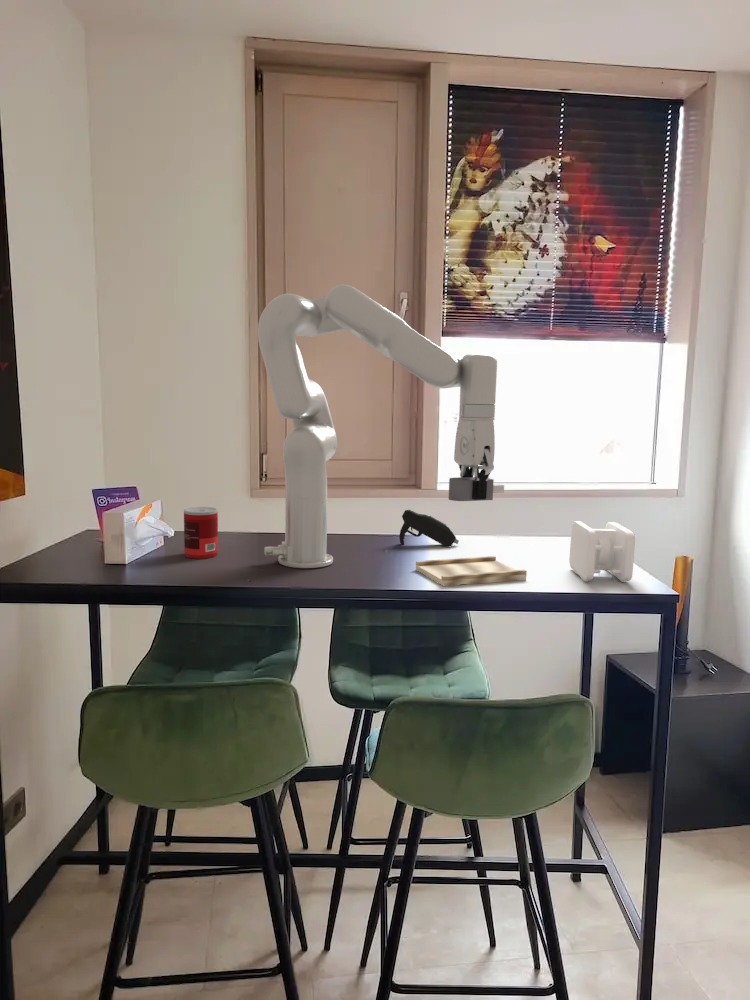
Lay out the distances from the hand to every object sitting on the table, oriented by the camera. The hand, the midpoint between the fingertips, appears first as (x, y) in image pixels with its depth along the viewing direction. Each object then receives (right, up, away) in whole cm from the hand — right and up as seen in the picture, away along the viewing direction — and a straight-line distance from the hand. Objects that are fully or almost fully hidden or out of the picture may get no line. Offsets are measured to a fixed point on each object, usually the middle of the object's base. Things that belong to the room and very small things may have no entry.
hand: (473, 496), depth 154 cm
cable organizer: (+29, -18, +5) cm, 34 cm away
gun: (-7, -13, +32) cm, 35 cm away
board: (0, -17, +3) cm, 17 cm away
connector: (0, -1, 0) cm, 1 cm away
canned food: (-63, -14, +14) cm, 66 cm away
